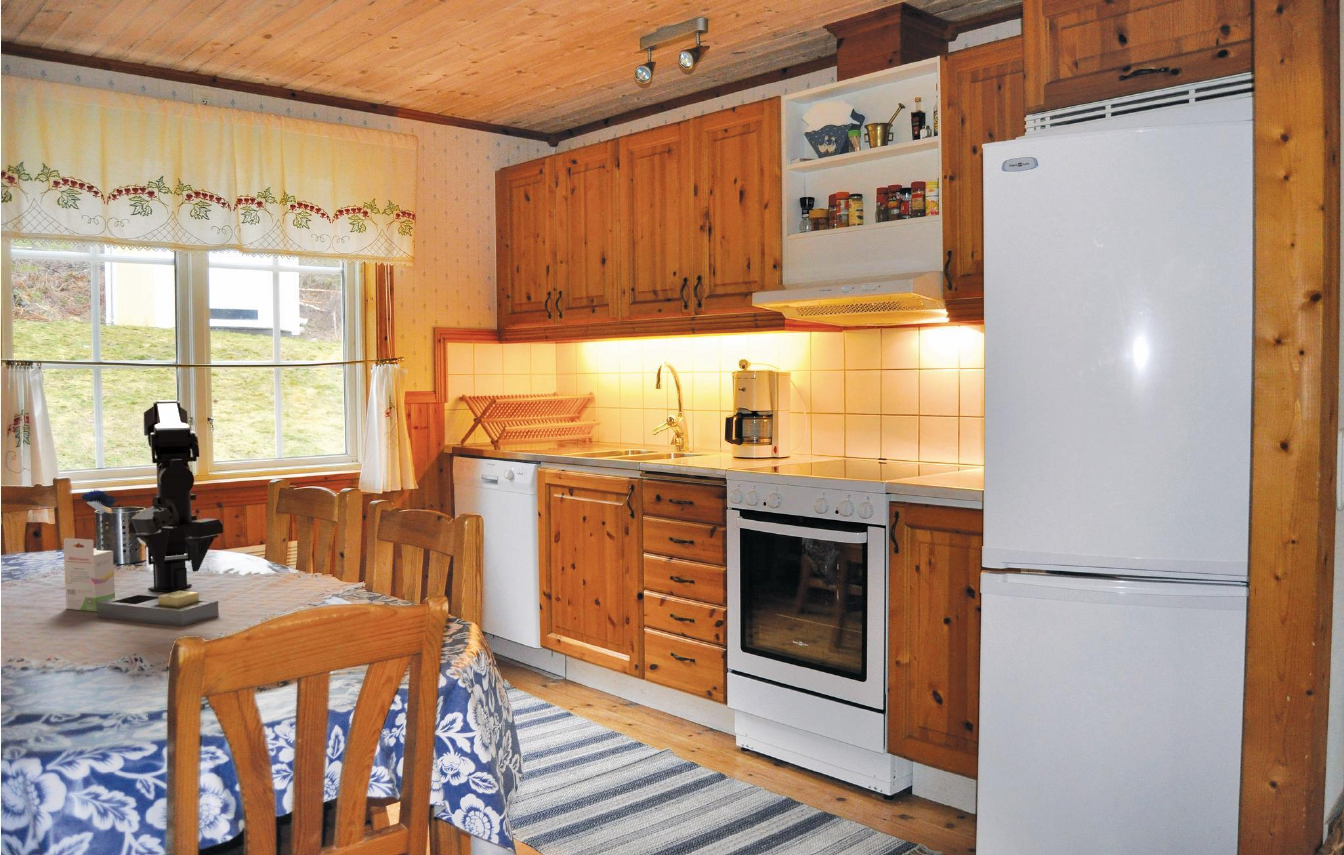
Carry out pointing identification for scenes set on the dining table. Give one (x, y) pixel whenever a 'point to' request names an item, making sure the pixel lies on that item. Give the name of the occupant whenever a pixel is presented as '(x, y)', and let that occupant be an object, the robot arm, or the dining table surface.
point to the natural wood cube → (178, 599)
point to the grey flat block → (155, 610)
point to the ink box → (87, 575)
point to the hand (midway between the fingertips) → (177, 569)
